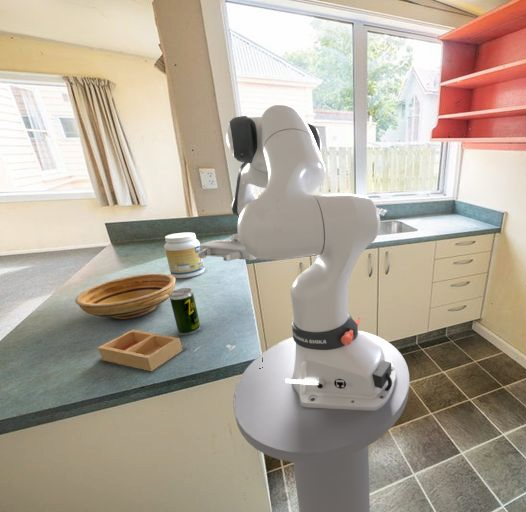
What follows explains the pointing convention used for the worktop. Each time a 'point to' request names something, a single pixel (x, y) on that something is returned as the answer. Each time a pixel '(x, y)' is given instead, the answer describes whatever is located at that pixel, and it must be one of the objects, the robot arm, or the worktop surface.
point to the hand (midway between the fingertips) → (212, 257)
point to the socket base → (140, 349)
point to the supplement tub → (183, 255)
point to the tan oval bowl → (127, 296)
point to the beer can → (185, 311)
